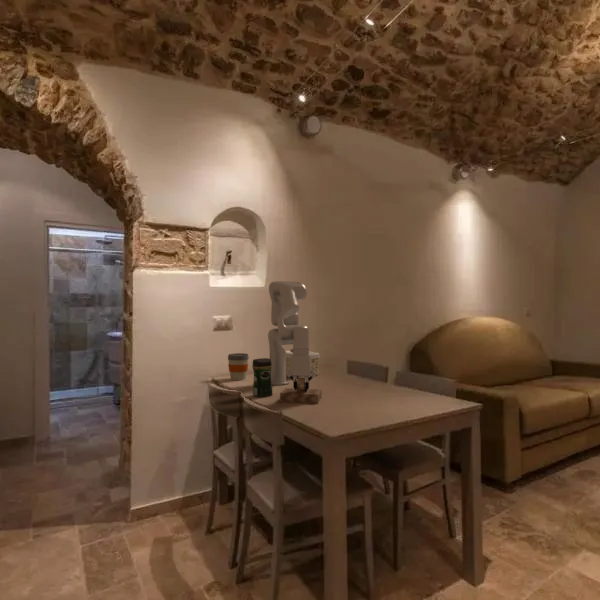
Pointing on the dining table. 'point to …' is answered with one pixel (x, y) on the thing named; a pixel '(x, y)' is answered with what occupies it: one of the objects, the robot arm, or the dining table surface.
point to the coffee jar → (262, 377)
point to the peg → (301, 384)
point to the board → (301, 396)
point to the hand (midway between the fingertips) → (301, 389)
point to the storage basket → (314, 361)
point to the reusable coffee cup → (238, 365)
